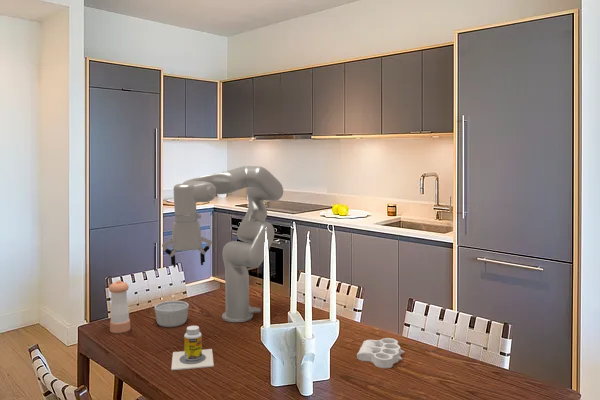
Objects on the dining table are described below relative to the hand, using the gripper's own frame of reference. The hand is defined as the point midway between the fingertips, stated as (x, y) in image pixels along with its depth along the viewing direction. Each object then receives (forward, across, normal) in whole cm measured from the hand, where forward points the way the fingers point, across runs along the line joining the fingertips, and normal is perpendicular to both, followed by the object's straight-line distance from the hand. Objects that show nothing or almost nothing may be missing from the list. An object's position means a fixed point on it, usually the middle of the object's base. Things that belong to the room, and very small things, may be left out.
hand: (188, 265), depth 172 cm
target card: (+27, 0, +19) cm, 33 cm away
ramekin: (+28, +7, -18) cm, 34 cm away
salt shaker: (+27, +26, -15) cm, 40 cm away
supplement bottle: (+26, 0, +19) cm, 33 cm away
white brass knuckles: (+29, -61, +32) cm, 75 cm away
